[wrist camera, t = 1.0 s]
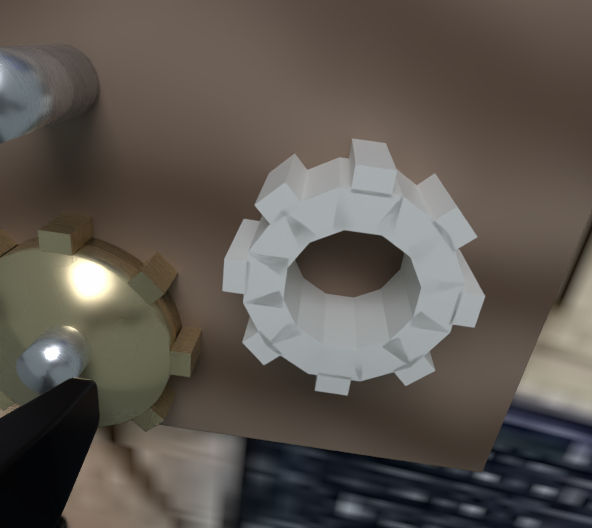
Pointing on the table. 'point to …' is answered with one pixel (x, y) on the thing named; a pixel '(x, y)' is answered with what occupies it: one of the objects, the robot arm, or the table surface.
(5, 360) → the brass gear
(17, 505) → the robot arm
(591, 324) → the table surface
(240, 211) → the gear board
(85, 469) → the table surface
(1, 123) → the peg
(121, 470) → the table surface
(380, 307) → the pale gear
